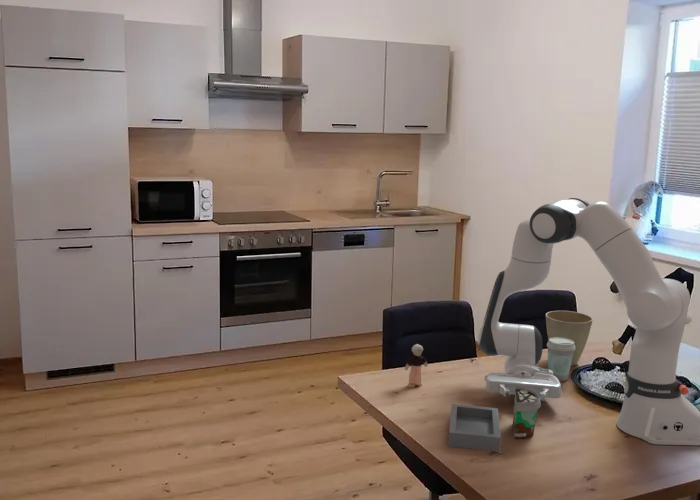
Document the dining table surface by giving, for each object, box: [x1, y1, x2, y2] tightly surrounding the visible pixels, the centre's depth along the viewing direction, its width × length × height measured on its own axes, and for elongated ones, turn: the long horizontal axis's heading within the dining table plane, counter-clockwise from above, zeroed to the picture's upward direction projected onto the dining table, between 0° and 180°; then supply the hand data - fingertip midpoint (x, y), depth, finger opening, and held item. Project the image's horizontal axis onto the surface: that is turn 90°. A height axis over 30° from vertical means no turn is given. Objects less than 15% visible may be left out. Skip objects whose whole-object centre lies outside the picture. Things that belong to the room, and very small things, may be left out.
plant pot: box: [545, 310, 594, 367], centre depth 227 cm, size 15×15×16 cm
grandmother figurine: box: [404, 343, 428, 388], centre depth 202 cm, size 8×4×13 cm, turn 129°
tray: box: [448, 403, 501, 452], centre depth 171 cm, size 12×18×4 cm, turn 170°
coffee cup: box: [546, 337, 575, 382], centre depth 212 cm, size 8×8×12 cm
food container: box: [512, 386, 542, 440], centre depth 172 cm, size 12×6×10 cm, turn 168°
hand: (524, 395), depth 183 cm, fingers open, 8 cm apart
